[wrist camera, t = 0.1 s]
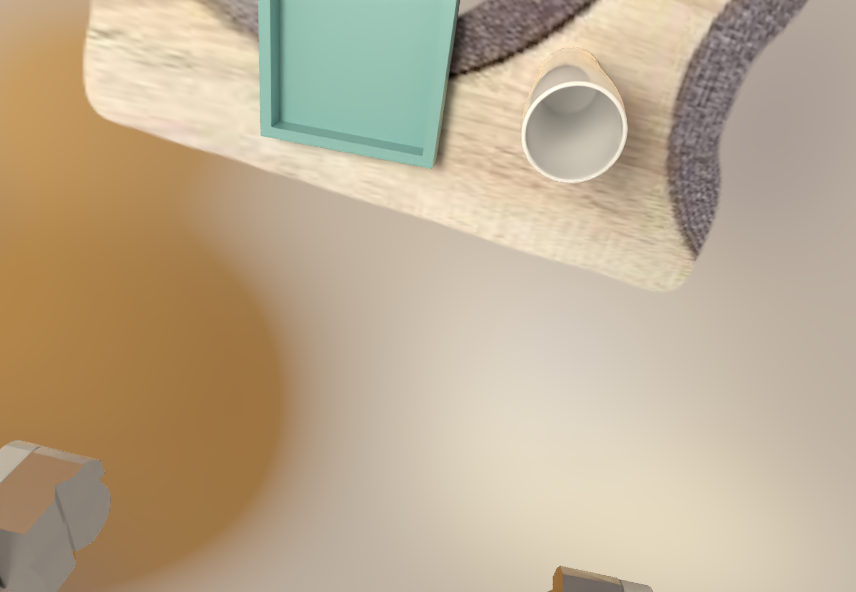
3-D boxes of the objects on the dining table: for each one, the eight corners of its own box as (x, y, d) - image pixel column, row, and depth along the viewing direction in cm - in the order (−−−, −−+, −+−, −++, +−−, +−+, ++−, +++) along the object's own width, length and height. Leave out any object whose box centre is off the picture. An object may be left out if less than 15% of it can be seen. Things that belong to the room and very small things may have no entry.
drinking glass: (625, 55, 50) (650, 105, 37) (586, 131, 53) (597, 200, 41) (548, 23, 49) (547, 62, 37) (514, 102, 53) (503, 162, 41)
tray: (269, -67, 49) (256, -66, 47) (465, -35, 48) (461, -32, 46) (271, 127, 58) (260, 135, 56) (436, 158, 57) (432, 168, 55)
